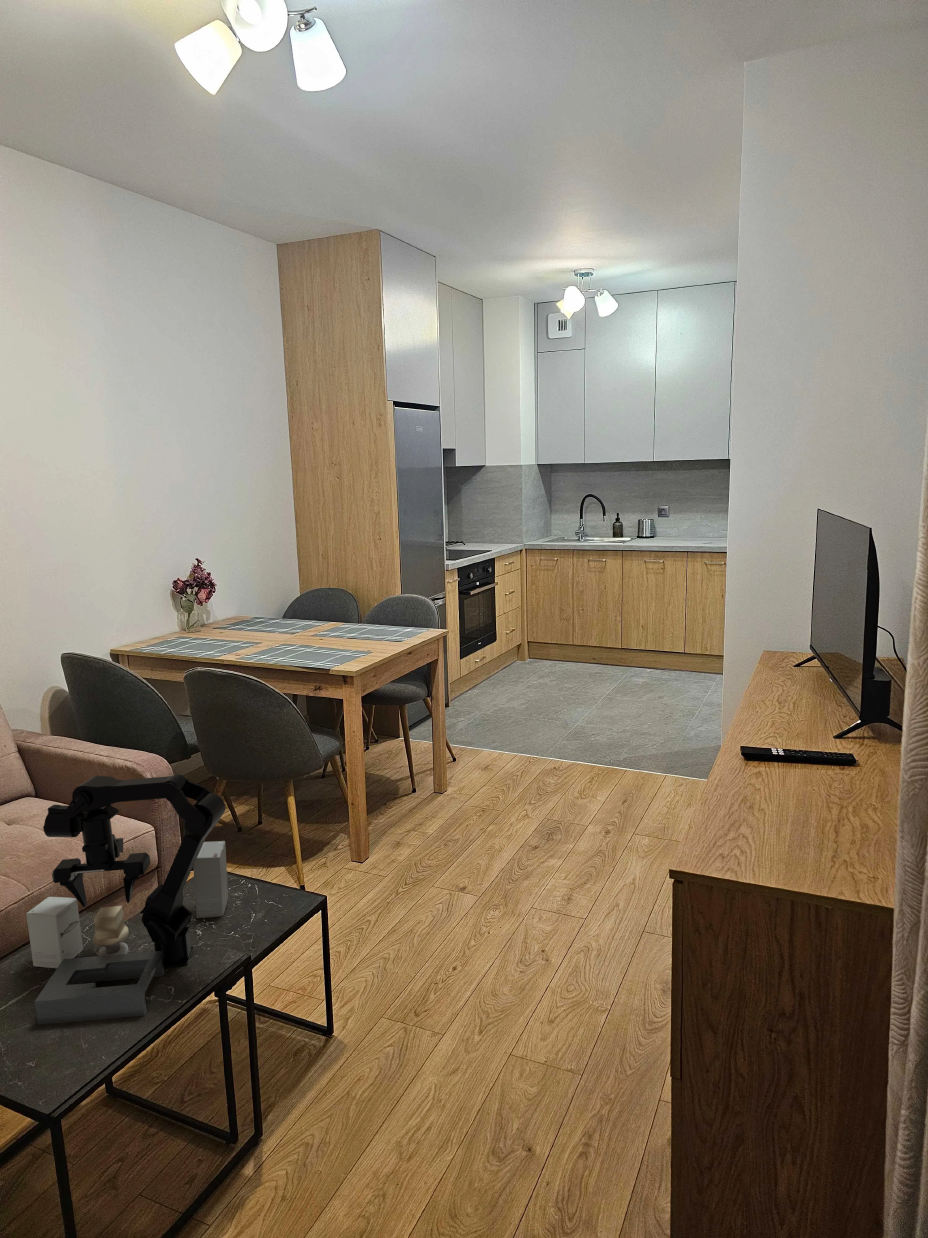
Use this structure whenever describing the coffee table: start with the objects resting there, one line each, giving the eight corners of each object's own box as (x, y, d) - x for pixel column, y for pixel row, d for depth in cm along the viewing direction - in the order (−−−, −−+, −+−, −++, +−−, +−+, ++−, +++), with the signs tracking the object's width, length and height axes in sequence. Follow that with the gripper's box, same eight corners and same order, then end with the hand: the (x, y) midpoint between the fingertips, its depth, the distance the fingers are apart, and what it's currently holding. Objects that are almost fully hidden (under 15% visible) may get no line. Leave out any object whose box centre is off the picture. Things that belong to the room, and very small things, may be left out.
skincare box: (202, 902, 203) (196, 841, 200) (232, 899, 203) (226, 838, 201) (195, 920, 194) (188, 857, 192) (226, 917, 195) (220, 854, 192)
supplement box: (62, 969, 177) (55, 915, 174) (32, 967, 178) (24, 913, 176) (84, 950, 184) (77, 897, 181) (55, 947, 185) (48, 895, 183)
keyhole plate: (164, 972, 174) (161, 951, 173) (144, 1015, 160) (141, 992, 159) (66, 981, 172) (63, 959, 172) (38, 1025, 159) (34, 1001, 158)
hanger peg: (135, 946, 184) (129, 902, 183) (125, 964, 178) (119, 919, 176) (102, 948, 184) (97, 905, 182) (91, 967, 177) (85, 922, 175)
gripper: (153, 817, 184) (161, 882, 187) (67, 824, 183) (76, 889, 186) (138, 839, 174) (147, 907, 176) (46, 846, 172) (56, 915, 175)
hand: (107, 904), depth 179 cm, fingers open, 9 cm apart
